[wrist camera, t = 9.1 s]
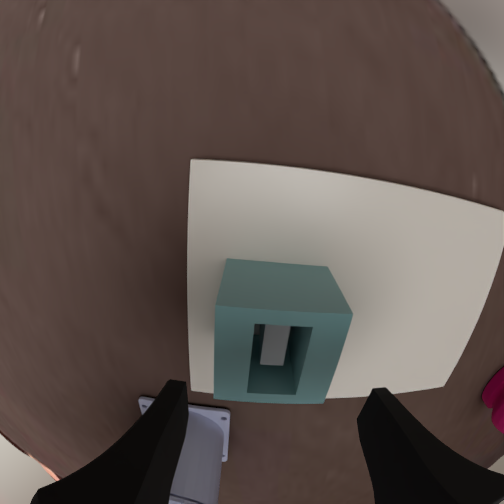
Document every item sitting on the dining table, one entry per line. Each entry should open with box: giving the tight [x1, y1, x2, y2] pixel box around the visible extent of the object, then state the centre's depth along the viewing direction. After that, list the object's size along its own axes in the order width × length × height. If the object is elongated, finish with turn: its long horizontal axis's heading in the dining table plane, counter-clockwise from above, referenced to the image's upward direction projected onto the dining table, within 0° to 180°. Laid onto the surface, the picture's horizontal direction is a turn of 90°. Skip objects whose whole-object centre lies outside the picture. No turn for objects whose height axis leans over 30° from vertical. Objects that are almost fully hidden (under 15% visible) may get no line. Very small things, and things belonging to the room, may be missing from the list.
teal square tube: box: [214, 258, 353, 404], centre depth 15 cm, size 6×6×5 cm
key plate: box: [187, 158, 504, 398], centre depth 16 cm, size 16×22×5 cm
